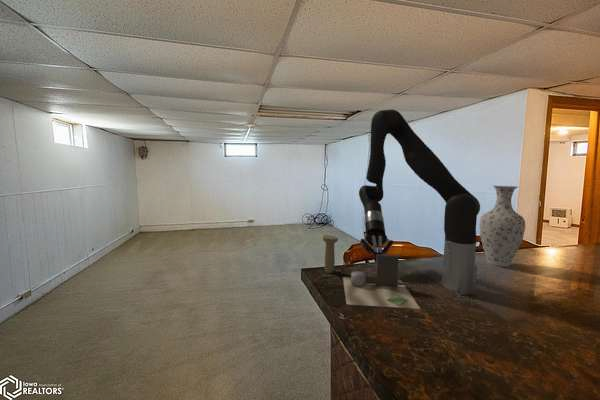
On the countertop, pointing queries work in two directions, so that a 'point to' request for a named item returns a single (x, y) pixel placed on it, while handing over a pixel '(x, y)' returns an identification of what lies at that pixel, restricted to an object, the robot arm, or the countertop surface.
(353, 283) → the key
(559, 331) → the countertop surface
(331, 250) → the beige pillar
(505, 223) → the vase
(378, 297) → the board
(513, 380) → the countertop surface
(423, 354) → the countertop surface
